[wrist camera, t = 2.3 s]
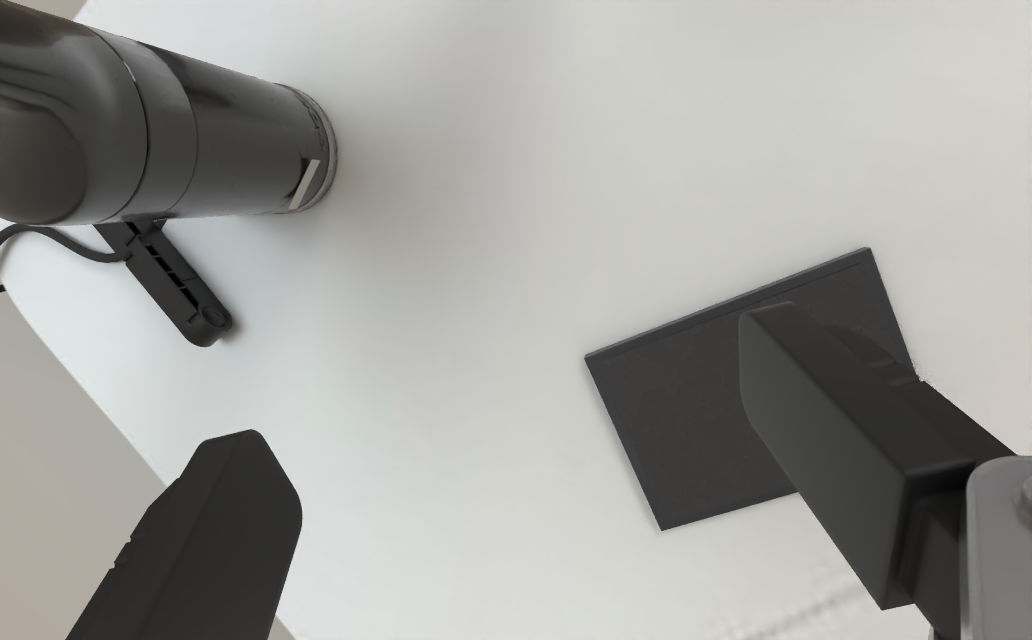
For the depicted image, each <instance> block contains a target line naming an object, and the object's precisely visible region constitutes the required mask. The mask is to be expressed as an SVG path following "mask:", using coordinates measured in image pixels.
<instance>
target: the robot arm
mask: <svg viewBox="0 0 1032 640" xmlns="http://www.w3.org/2000/svg"><path fill="white" fill-rule="evenodd" d="M336 162H337V148H336V141H335V137H334V133H333V130H332V127H331V125H330V123H329V121H328V119H327V117H326V115H325V114H324V112H323V111H322V110H321V108H320V107H319V106H318V105H317V104H316V103H315V102H314V101H313V100H312V99H311V98H310V97H308V96H307V95H306V94H304V93H302V92H301V91H299V90H296V89H294V88H291V87H288V86H285V85H282V84H277V83H271V82H267V81H264V80H261V79H259V78H255V77H252V76H249V75H246V74H242V73H239V72H236V71H233V70H229V69H226V68H223V67H220V66H216V65H213V64H210V63H207V62H203V61H200V60H197V59H194V58H190V57H187V56H184V55H181V54H177V53H174V52H171V51H168V50H165V49H161V48H158V47H155V46H152V45H148V44H145V43H142V42H139V41H135V40H132V39H129V38H126V37H122V36H118V35H115V34H112V33H109V32H105V31H102V30H99V29H96V28H92V27H89V26H86V25H83V24H80V23H76V22H73V21H71V20H68V19H65V18H61V17H58V16H55V15H52V14H48V13H45V12H42V11H38V10H35V9H32V8H29V7H26V6H23V5H20V4H17V3H14V2H11V1H8V0H0V218H2V219H5V220H8V221H11V222H15V223H17V224H13V225H11V226H9V227H7V228H5V229H3V230H2V231H0V245H1V244H2V243H3V242H4V241H6V240H7V239H8V238H9V237H11V236H13V235H14V234H17V233H19V232H22V231H34V232H38V233H41V234H44V235H46V236H48V237H50V238H52V239H54V240H55V241H57V242H59V243H60V244H62V245H64V246H65V247H67V248H69V249H70V250H72V251H74V252H76V253H77V254H79V255H81V256H83V257H85V258H88V259H90V260H94V261H97V262H104V263H110V262H118V261H121V260H122V259H120V258H119V256H118V255H117V254H116V253H113V254H102V253H97V252H94V251H91V250H89V249H87V248H84V247H82V246H81V245H79V244H77V243H75V242H74V241H72V240H70V239H69V238H67V237H65V236H64V235H62V234H60V233H59V232H57V231H55V230H53V229H51V228H49V227H56V226H72V225H87V224H103V223H120V222H134V221H148V220H157V221H156V222H155V225H156V226H157V227H158V228H159V230H160V231H161V229H162V227H163V225H164V224H165V222H166V221H167V219H181V218H198V217H215V216H231V215H248V214H268V213H272V214H290V213H296V212H300V211H303V210H305V209H307V208H309V207H311V206H313V205H314V204H315V203H316V202H318V201H319V200H320V199H321V198H322V196H323V195H324V194H325V193H326V191H327V190H328V188H329V186H330V184H331V182H332V180H333V177H334V173H335V169H336ZM5 291H7V290H6V288H5V287H4V285H3V284H2V285H0V292H5ZM738 342H739V375H740V393H741V399H742V403H743V406H744V409H745V412H746V415H747V417H748V419H749V421H750V423H751V425H752V426H753V428H754V429H755V431H756V432H757V434H758V435H759V436H760V438H761V439H762V441H763V442H764V444H765V445H766V446H767V448H768V449H769V451H770V452H771V454H772V455H773V456H774V458H775V459H776V461H777V462H778V464H779V465H780V466H781V468H782V469H783V471H784V472H785V473H786V475H787V476H788V478H789V479H790V481H791V482H792V483H793V485H794V486H795V488H796V489H797V491H798V492H799V493H800V495H801V496H802V498H803V499H804V501H805V502H806V503H807V505H808V506H809V508H810V509H811V511H812V512H813V513H814V515H815V516H816V518H817V519H818V520H819V522H820V523H821V525H822V526H823V528H824V529H825V530H826V532H827V533H828V535H829V536H830V538H831V539H832V540H833V542H834V543H835V545H836V546H837V548H838V549H839V550H840V552H841V553H842V555H843V556H844V558H845V559H846V560H847V562H848V563H849V565H850V566H851V568H852V569H853V570H854V572H855V573H856V575H857V576H858V577H859V579H860V580H861V582H862V583H863V585H864V586H865V587H866V589H867V590H868V592H869V593H870V595H871V596H872V597H873V599H874V600H875V602H876V603H877V605H878V606H879V607H880V609H881V610H887V609H891V608H896V607H900V606H905V605H909V604H914V603H915V605H916V606H917V607H918V608H919V610H920V611H921V612H922V614H923V615H924V616H925V618H926V619H927V620H928V621H929V623H930V624H931V626H930V630H929V636H928V640H1032V456H1018V455H1017V454H1015V453H1014V452H1013V451H1011V450H1010V449H1009V448H1008V447H1006V446H1005V445H1004V444H1003V443H1001V442H1000V441H999V440H998V439H996V438H995V437H994V436H993V435H991V434H990V433H989V432H988V431H986V430H985V429H984V428H983V427H981V426H980V425H979V424H978V423H976V422H975V421H974V420H973V419H971V418H970V417H969V416H968V415H966V414H965V413H964V412H963V411H961V410H960V409H959V408H958V407H956V406H955V405H954V404H953V403H951V402H950V401H949V400H948V399H946V398H945V397H944V396H943V395H941V394H940V393H939V392H938V391H936V390H935V389H934V388H933V387H931V386H930V385H929V384H928V383H926V382H925V381H922V382H921V381H920V380H919V376H918V375H916V374H915V373H914V372H913V371H911V370H910V369H909V368H908V367H906V366H905V365H904V364H903V363H897V361H896V358H895V357H894V356H893V355H891V354H890V353H889V352H888V351H886V350H885V349H884V348H883V347H881V346H880V345H879V344H877V343H876V342H875V341H874V340H872V339H871V338H870V337H867V336H865V335H863V334H860V333H858V332H855V331H853V330H850V329H848V328H845V327H843V326H840V325H838V324H835V323H834V324H830V325H825V326H822V325H821V324H820V323H818V322H817V321H816V320H815V319H814V318H813V317H811V316H810V315H809V314H808V313H807V312H806V311H805V310H803V309H802V308H801V307H800V306H799V305H798V304H796V303H795V302H792V301H788V302H783V303H779V304H775V305H771V306H767V307H763V308H758V309H754V310H750V311H746V312H742V313H741V315H740V316H739V321H738ZM301 527H302V508H301V503H300V499H299V496H298V494H297V492H296V490H295V488H294V487H293V485H292V483H291V482H290V480H289V478H288V477H287V475H286V473H285V472H284V470H283V469H282V467H281V465H280V464H279V462H278V460H277V459H276V457H275V455H274V454H273V452H272V450H271V449H270V447H269V446H268V444H267V442H266V441H265V439H264V438H263V436H262V435H261V434H260V433H259V432H257V431H256V430H252V429H250V430H246V431H241V432H237V433H233V434H229V435H225V436H221V437H216V438H212V439H208V440H205V441H203V442H202V443H201V444H200V445H199V446H198V448H197V449H196V451H195V453H194V454H193V456H192V458H191V459H190V461H189V463H188V464H187V466H186V468H185V469H184V471H183V473H182V474H181V476H180V478H177V479H176V480H175V481H174V482H173V483H172V484H171V485H170V486H169V487H168V488H167V489H166V490H165V491H164V492H163V493H162V494H161V495H160V496H159V497H158V498H157V499H156V500H155V501H154V502H153V503H152V504H151V505H150V506H149V507H148V509H147V511H146V512H145V514H144V515H143V517H142V518H141V520H140V522H139V523H138V525H137V526H136V528H135V530H134V531H133V533H132V534H131V536H130V538H131V542H128V543H126V544H125V546H124V547H123V549H122V550H121V552H120V553H119V555H118V557H117V558H116V560H115V561H114V563H115V567H114V568H112V569H109V571H108V573H107V574H106V576H105V578H104V579H103V581H102V582H101V584H100V585H99V587H98V589H97V590H96V592H95V593H94V595H93V596H92V598H91V600H90V601H89V603H88V605H87V606H86V608H85V610H84V611H83V613H82V614H81V616H80V617H79V619H78V621H77V622H76V624H75V625H74V627H73V628H72V630H71V632H70V633H69V635H68V636H67V638H66V639H65V640H267V639H268V636H269V632H270V629H271V626H272V623H273V619H274V616H275V613H276V610H277V607H278V603H279V600H280V597H281V594H282V590H283V587H284V584H285V581H286V577H287V574H288V571H289V568H290V564H291V561H292V558H293V554H294V551H295V548H296V545H297V541H298V538H299V535H300V531H301Z"/></svg>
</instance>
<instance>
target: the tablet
mask: <svg viewBox="0 0 1032 640" xmlns="http://www.w3.org/2000/svg"><path fill="white" fill-rule="evenodd" d="M788 301H792V302H795V303H796V304H798V305H799V306H800V307H801V308H802V309H803V310H805V311H806V312H807V313H808V314H809V315H810V316H811V317H813V318H814V319H815V320H816V321H817V322H818V323H820V324H821V325H822V326H825V325H830V324H834V323H835V324H838V325H840V326H843V327H845V328H848V329H850V330H853V331H855V332H858V333H860V334H863V335H865V336H867V337H870V338H871V339H872V340H874V341H875V342H876V343H877V344H879V345H880V346H881V347H883V348H884V349H885V350H886V351H888V352H889V353H890V354H891V355H893V356H894V357H895V358H896V361H897V363H903V364H904V365H905V366H906V367H908V368H909V369H910V370H911V371H913V372H914V373H915V370H914V367H913V365H912V362H911V359H910V356H909V354H908V351H907V348H906V345H905V343H904V340H903V337H902V334H901V332H900V329H899V326H898V323H897V321H896V318H895V315H894V312H893V309H892V307H891V304H890V301H889V298H888V296H887V293H886V290H885V287H884V285H883V282H882V279H881V276H880V274H879V271H878V268H877V265H876V263H875V260H874V257H873V254H872V251H871V249H870V248H868V247H863V248H861V249H858V250H856V251H853V252H851V253H848V254H845V255H843V256H840V257H838V258H835V259H832V260H830V261H827V262H825V263H822V264H820V265H817V266H814V267H812V268H809V269H807V270H804V271H801V272H799V273H796V274H794V275H791V276H788V277H786V278H783V279H781V280H778V281H776V282H773V283H770V284H768V285H765V286H763V287H760V288H757V289H755V290H752V291H750V292H747V293H744V294H742V295H739V296H737V297H734V298H732V299H729V300H726V301H724V302H721V303H719V304H716V305H713V306H711V307H708V308H706V309H703V310H701V311H698V312H695V313H693V314H690V315H688V316H685V317H682V318H680V319H677V320H675V321H672V322H669V323H667V324H664V325H662V326H659V327H657V328H654V329H651V330H649V331H646V332H644V333H641V334H638V335H636V336H633V337H631V338H628V339H625V340H623V341H620V342H618V343H615V344H613V345H610V346H607V347H605V348H602V349H600V350H597V351H594V352H592V353H589V354H587V355H585V357H584V359H585V361H586V364H587V366H588V368H589V370H590V373H591V375H592V377H593V379H594V382H595V384H596V386H597V388H598V390H599V393H600V395H601V397H602V399H603V402H604V404H605V406H606V408H607V411H608V413H609V415H610V417H611V420H612V422H613V424H614V426H615V429H616V431H617V433H618V435H619V437H620V440H621V442H622V444H623V446H624V449H625V451H626V453H627V455H628V458H629V460H630V462H631V464H632V467H633V469H634V471H635V473H636V475H637V478H638V480H639V482H640V484H641V487H642V489H643V491H644V493H645V496H646V498H647V500H648V502H649V505H650V507H651V509H652V511H653V514H654V516H655V518H656V520H657V522H658V525H659V527H660V529H661V531H664V530H667V529H671V528H674V527H678V526H681V525H685V524H688V523H692V522H695V521H699V520H702V519H706V518H709V517H713V516H716V515H720V514H723V513H726V512H730V511H733V510H737V509H740V508H744V507H747V506H751V505H754V504H758V503H761V502H765V501H768V500H772V499H775V498H779V497H782V496H786V495H789V494H793V493H796V492H798V491H797V489H796V488H795V486H794V485H793V483H792V482H791V481H790V479H789V478H788V476H787V475H786V473H785V472H784V471H783V469H782V468H781V466H780V465H779V464H778V462H777V461H776V459H775V458H774V456H773V455H772V454H771V452H770V451H769V449H768V448H767V446H766V445H765V444H764V442H763V441H762V439H761V438H760V436H759V435H758V434H757V432H756V431H755V429H754V428H753V426H752V425H751V423H750V421H749V419H748V417H747V415H746V412H745V409H744V406H743V403H742V399H741V393H740V375H739V342H738V321H739V316H740V315H741V313H742V312H746V311H750V310H754V309H758V308H763V307H767V306H771V305H775V304H779V303H783V302H788ZM915 374H916V373H915Z"/></svg>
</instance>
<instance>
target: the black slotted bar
mask: <svg viewBox="0 0 1032 640" xmlns="http://www.w3.org/2000/svg"><path fill="white" fill-rule="evenodd" d="M92 225H93V226H94V227H95V228H96V230H97V231H98V232H99V233H100V234H101V236H102V237H103V238H104V239H105V241H106V242H107V243H108V244H109V245H110V247H111V248H112V249H113V250H114V252H115V253H116V254H117V255H118V256H119V258H120V259H122V260H123V261H125V262H126V263H125V264H126V266H127V267H128V269H129V270H130V271H131V272H132V274H133V275H134V276H135V277H136V278H137V280H138V281H139V282H140V283H141V284H142V286H143V287H144V288H145V289H146V290H147V292H148V293H149V294H150V295H151V297H152V298H153V299H154V300H155V301H156V303H157V304H158V305H159V306H160V307H161V309H162V310H163V311H164V312H165V314H166V315H167V316H168V317H169V318H170V320H171V321H172V322H173V323H174V324H175V326H176V327H177V328H178V329H179V331H180V332H181V333H182V334H183V336H184V337H185V338H186V339H187V340H188V341H190V342H191V343H193V344H194V345H197V346H200V347H209V346H211V345H213V344H214V343H215V342H216V341H217V340H218V339H219V338H220V337H221V336H223V335H224V334H225V333H226V332H227V331H228V330H229V329H230V328H231V327H232V318H231V316H230V314H229V313H228V311H227V310H226V309H225V308H224V307H223V306H222V305H221V303H220V302H219V301H218V300H217V298H216V297H215V296H214V295H213V293H212V292H211V291H210V290H209V288H208V287H207V286H206V285H205V283H204V282H203V281H202V280H201V279H200V277H199V276H198V275H197V274H196V272H195V271H194V270H193V269H192V268H191V267H190V266H188V264H187V263H186V262H185V261H184V259H183V258H182V257H181V256H180V254H179V253H178V252H177V251H176V249H175V248H174V247H173V246H172V244H171V243H170V242H169V241H168V239H167V238H166V237H165V236H164V234H163V233H162V232H161V231H160V230H159V228H158V227H157V226H156V225H155V223H154V222H153V221H152V220H148V221H134V222H120V223H103V224H92Z"/></svg>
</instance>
